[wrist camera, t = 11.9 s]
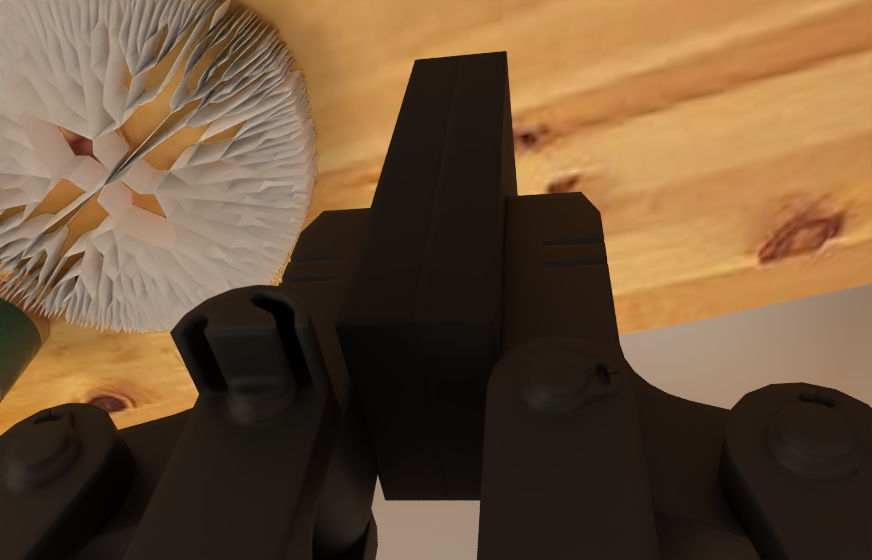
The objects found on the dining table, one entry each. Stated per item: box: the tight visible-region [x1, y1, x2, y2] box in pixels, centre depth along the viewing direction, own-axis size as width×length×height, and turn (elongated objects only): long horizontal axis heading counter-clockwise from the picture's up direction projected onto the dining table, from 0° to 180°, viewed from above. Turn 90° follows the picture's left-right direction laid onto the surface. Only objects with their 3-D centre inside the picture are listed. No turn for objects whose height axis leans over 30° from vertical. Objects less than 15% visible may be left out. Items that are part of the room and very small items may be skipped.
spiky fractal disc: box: [0, 0, 320, 334], centre depth 44 cm, size 22×28×3 cm
